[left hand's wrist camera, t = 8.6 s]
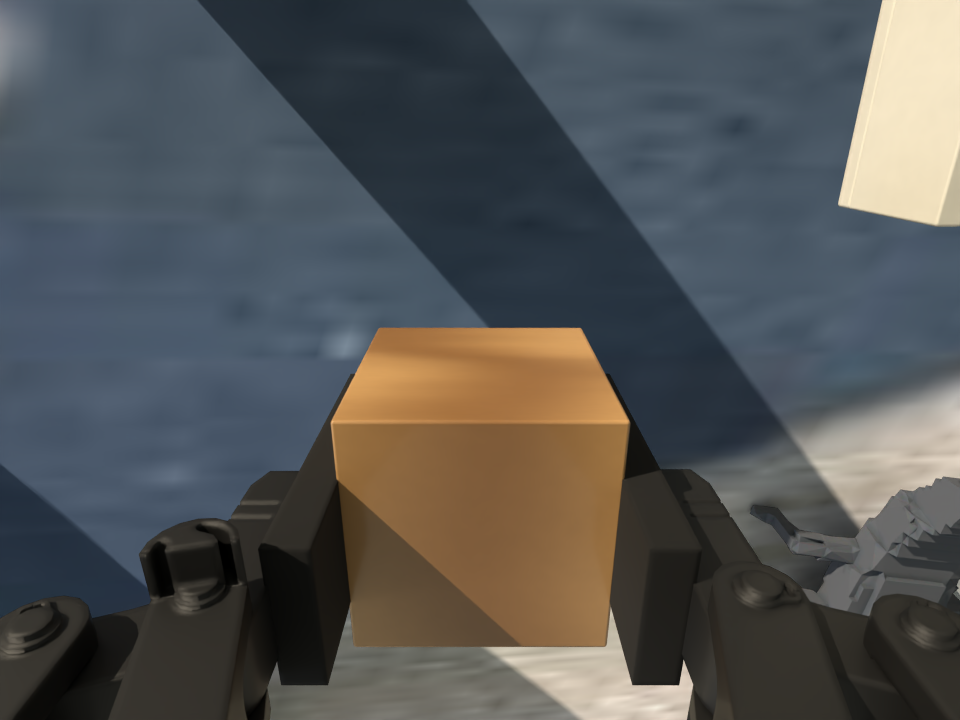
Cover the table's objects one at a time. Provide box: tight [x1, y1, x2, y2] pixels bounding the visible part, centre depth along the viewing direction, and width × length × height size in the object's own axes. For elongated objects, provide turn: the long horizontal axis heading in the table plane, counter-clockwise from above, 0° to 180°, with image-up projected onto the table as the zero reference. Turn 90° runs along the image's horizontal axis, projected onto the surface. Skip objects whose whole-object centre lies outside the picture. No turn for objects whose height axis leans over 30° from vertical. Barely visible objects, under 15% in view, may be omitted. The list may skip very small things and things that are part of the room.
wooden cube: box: [331, 328, 630, 647], centre depth 13 cm, size 5×5×5 cm
